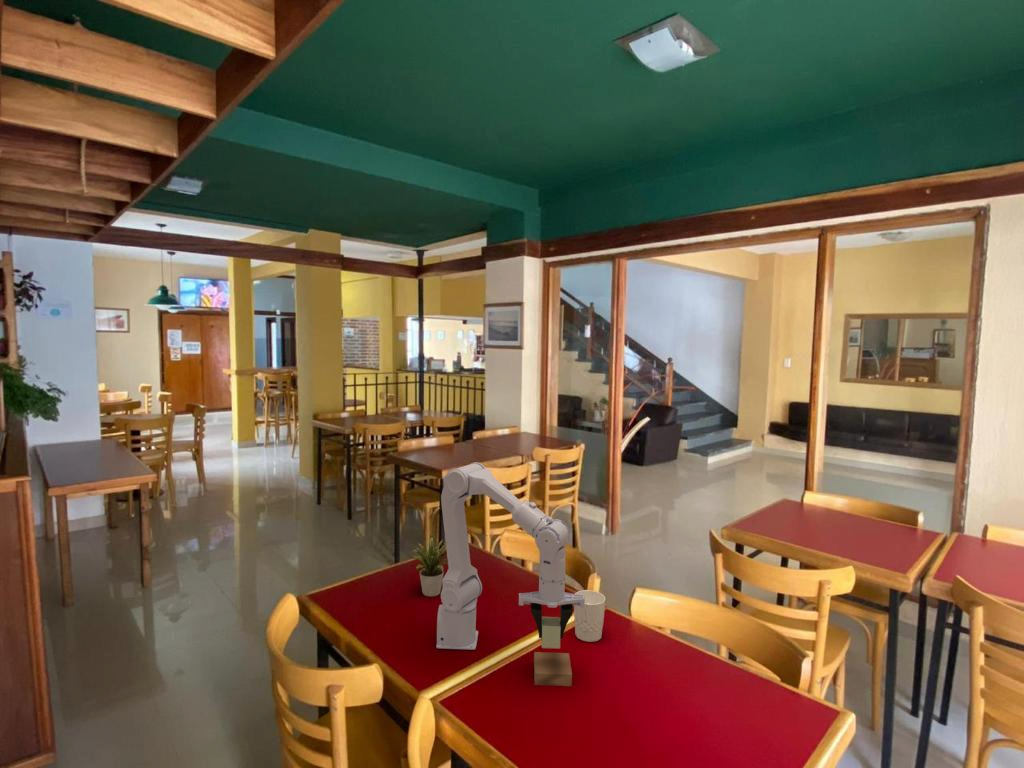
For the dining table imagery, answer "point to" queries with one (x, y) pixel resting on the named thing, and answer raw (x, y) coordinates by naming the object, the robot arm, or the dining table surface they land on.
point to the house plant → (431, 568)
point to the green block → (550, 632)
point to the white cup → (589, 616)
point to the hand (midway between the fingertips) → (550, 636)
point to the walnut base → (552, 669)
